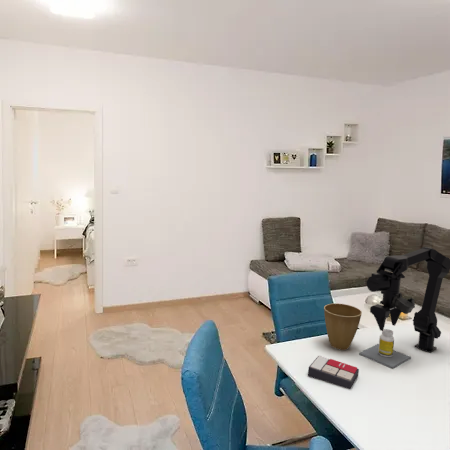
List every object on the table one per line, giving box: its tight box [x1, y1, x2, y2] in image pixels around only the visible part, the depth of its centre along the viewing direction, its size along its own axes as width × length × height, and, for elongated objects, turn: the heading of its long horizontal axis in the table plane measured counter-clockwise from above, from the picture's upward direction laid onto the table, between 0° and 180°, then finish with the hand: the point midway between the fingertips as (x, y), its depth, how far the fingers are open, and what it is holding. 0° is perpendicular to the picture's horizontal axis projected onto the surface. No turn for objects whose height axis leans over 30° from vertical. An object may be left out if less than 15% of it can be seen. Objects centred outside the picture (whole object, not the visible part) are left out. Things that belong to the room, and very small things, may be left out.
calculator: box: [307, 355, 360, 390], centre depth 138 cm, size 11×4×15 cm
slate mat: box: [359, 343, 412, 370], centre depth 154 cm, size 14×14×1 cm
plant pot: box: [323, 302, 362, 351], centre depth 161 cm, size 15×15×16 cm
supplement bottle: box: [378, 328, 395, 357], centre depth 154 cm, size 5×5×10 cm
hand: (387, 327), depth 153 cm, fingers open, 9 cm apart
